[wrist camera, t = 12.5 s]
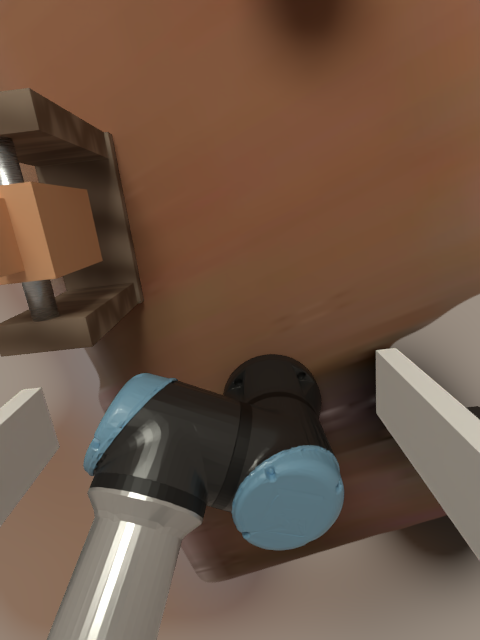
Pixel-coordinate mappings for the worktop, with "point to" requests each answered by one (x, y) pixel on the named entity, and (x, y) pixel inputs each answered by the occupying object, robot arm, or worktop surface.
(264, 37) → the worktop surface
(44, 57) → the worktop surface
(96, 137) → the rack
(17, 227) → the tan joined planks
